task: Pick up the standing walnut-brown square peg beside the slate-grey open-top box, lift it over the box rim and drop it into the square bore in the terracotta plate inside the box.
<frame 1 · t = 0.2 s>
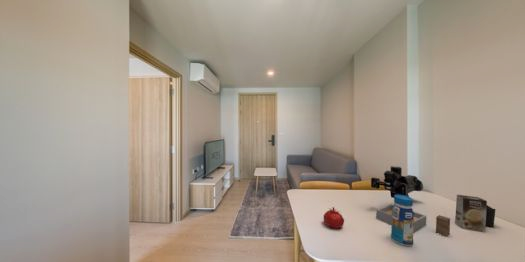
hand: (381, 188, 108), 17 cm above the table, tool horizontal, fingers open, 9 cm apart
coffee box: (469, 227, 99), on the table
pomegranate: (333, 225, 96), on the table
pen holder: (481, 224, 104), on the table
walnut peg: (442, 233, 92), on the table
beverage bottle: (401, 241, 84), on the table
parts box: (400, 221, 103), on the table
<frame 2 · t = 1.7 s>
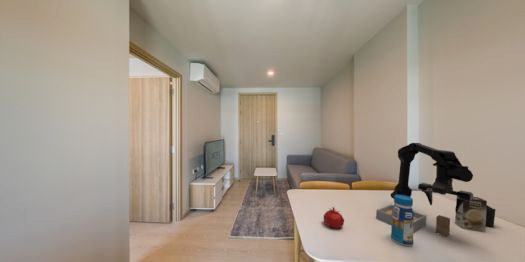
hand: (443, 208, 92), 13 cm above the table, tool pointing down, fingers open, 9 cm apart
nothing on the table moved.
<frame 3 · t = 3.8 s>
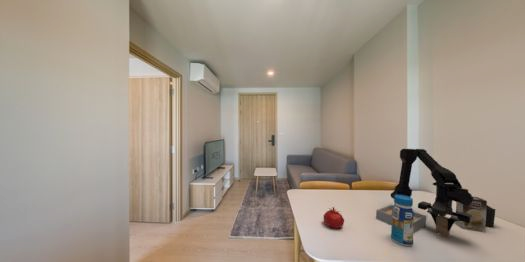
hand: (442, 228, 92), 3 cm above the table, tool pointing down, fingers closed on walnut peg, 4 cm apart
walnut peg: (442, 233, 92), on the table, touching gripper
everything else where it was.
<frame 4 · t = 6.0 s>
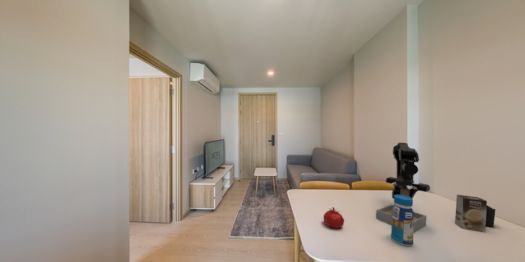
hand: (405, 199, 104), 12 cm above the table, tool pointing down, fingers closed on walnut peg, 4 cm apart
walnut peg: (405, 203, 104), point 10 cm above the table, touching gripper
everything else where it was.
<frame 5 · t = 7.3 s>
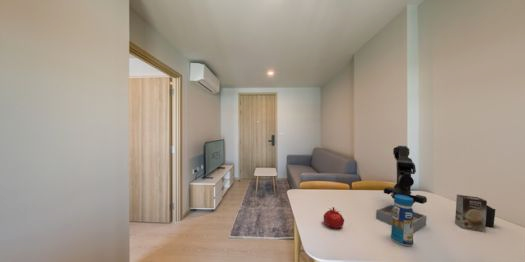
hand: (403, 210, 104), 6 cm above the table, tool pointing down, fingers closed on walnut peg, 4 cm apart
walnut peg: (403, 214, 104), point 3 cm above the table, touching gripper
everything else where it was.
when the fingers open (4 cm above the table, at t = 8.3 s): walnut peg drops 2 cm, resting in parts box.
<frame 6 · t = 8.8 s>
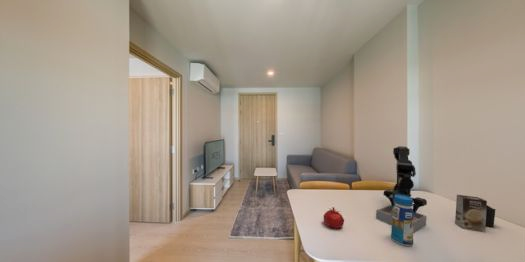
hand: (403, 212, 104), 4 cm above the table, tool pointing down, fingers open, 9 cm apart
walnut peg: (402, 220, 104), resting in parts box
everything else where it was.
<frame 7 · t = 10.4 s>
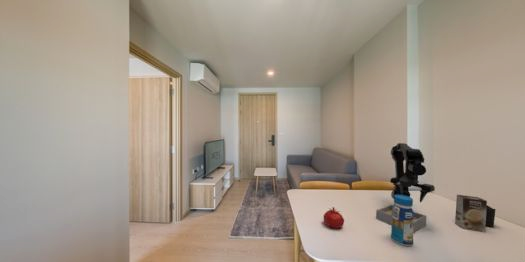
hand: (410, 199, 104), 12 cm above the table, tool pointing down, fingers open, 9 cm apart
nothing on the table moved.
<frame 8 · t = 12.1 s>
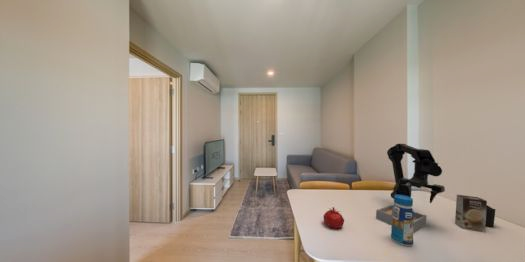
hand: (419, 200, 104), 12 cm above the table, tool pointing down, fingers open, 9 cm apart
nothing on the table moved.
at the end: walnut peg 0.0 cm from the target spot on the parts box, point 0.0 cm above the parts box's base; walnut peg tilted 0°; the gripper is holding nothing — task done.
